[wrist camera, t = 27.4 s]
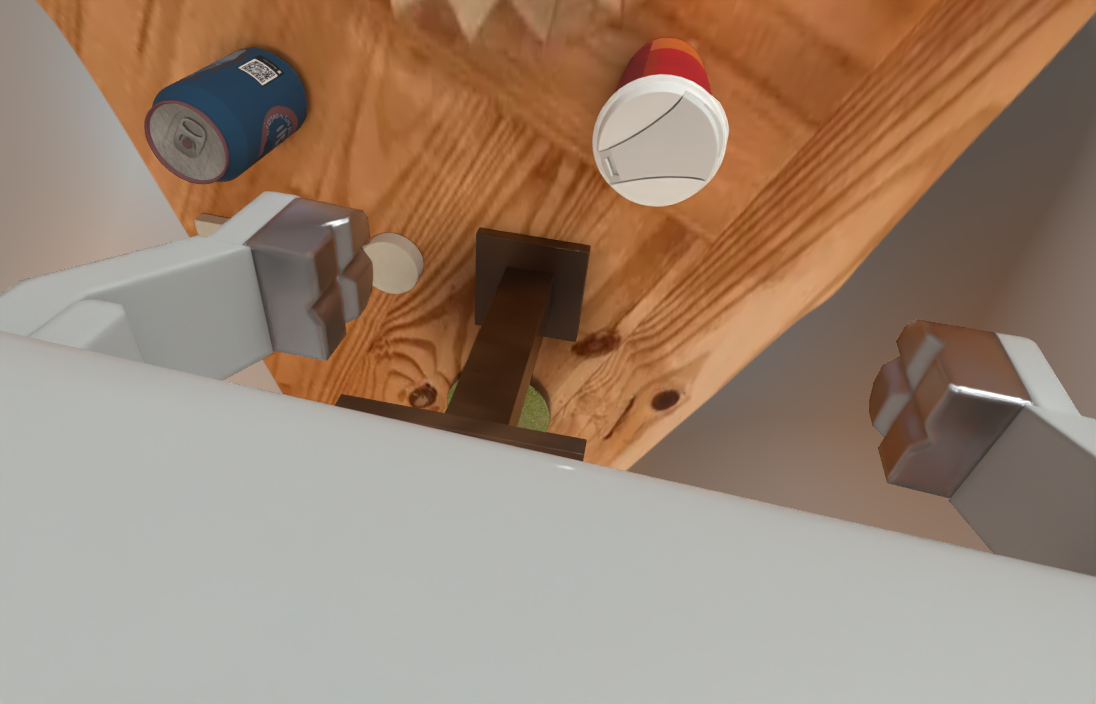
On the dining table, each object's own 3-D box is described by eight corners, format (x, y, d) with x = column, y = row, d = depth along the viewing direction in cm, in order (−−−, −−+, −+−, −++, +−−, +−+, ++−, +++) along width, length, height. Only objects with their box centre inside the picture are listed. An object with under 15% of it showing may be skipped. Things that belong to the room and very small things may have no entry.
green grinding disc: (474, 441, 76) (470, 453, 75) (435, 368, 70) (429, 380, 68) (566, 431, 72) (563, 443, 71) (532, 352, 66) (529, 365, 65)
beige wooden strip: (423, 238, 60) (417, 248, 58) (424, 288, 63) (418, 299, 62) (198, 196, 61) (186, 205, 60) (211, 248, 65) (200, 257, 63)
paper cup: (630, 143, 51) (614, 229, 40) (597, 44, 47) (570, 110, 36) (732, 110, 48) (744, 192, 38) (706, 1, 44) (711, 59, 33)
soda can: (295, 147, 56) (217, 211, 47) (220, 94, 54) (124, 149, 45) (327, 83, 52) (249, 139, 43) (247, 23, 50) (148, 68, 41)
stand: (453, 321, 65) (354, 527, 46) (452, 213, 58) (333, 407, 38) (601, 347, 64) (563, 570, 45) (620, 240, 56) (584, 454, 37)
